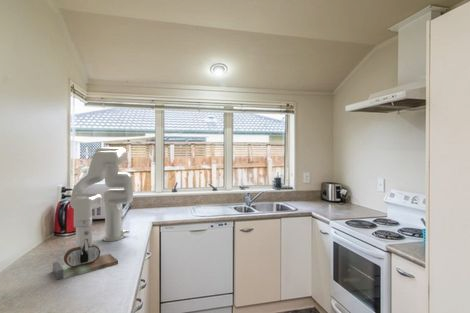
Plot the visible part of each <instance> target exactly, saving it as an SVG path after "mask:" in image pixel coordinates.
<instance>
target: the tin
mask: <svg viewBox="0 0 470 313" xmlns="http://www.w3.org/2000/svg"><path fill="white" fill-rule="evenodd" d="M83 247H84V246H83ZM83 250H84V249H83ZM80 255H81V248H79V247H78V246H76V247H72V248H69V249H68V250H67V251H66V252H65V253H64V256H63V261H64V262H63V263H65V265H66V264H67V265H68V266H70V267H76V266H80V265H84V264H88V263H92V262H94V261H96V260H97V259H98V258H99V256H101V250H100V247H98V246H97V245H96V244H94V243H92V247H90V246H89V245H88V262H84V263H80Z"/></svg>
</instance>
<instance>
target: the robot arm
mask: <svg viewBox="0 0 470 313" xmlns="http://www.w3.org/2000/svg"><path fill="white" fill-rule="evenodd" d="M127 155H128V154H127V150H126V148H124V147H118V146H115V147H114V146H113V147H111V146H107V147H106V146H104V147H103V146H102V147H97V148H96V149H95V152H94V153H93V154H92V157H91V160H90V163H89V168H88V170H87V174H86V175H85V176H84V177H82V178H81V179H80V180H79V181H78V182H77V183H76V184H75V185H74V186H73V188H72V192H71V195H70V199H69V205H70V207H71V208H72V209H73V228H75V245H76V247H79V248H81V255H80V263H84V262H88V245H89V246H90V247H92V244H93V236H92V235H93V234H92V233H93V232H92V227H91V226H92V225H93V210H95V209H99V208H100V207H101V206H102V204H103V202H104V214H105V215H104V221H105V223H104V228H105V229H104V233H105V234H104V236H102V241H105V242H115V241H119V240H122V239H124V238H125V234H128V233H129V234H130V230H129V229H122V208H121V207H120V205H121V204H123V205H124V204H125V205H126V204H130V203H132V202H133V201H134V188H133V187H134V186H133V185H134V184H133V176H132V174H131V173H130V172H120V165H121V164H123V163H124V162H125V161H126V159H127ZM102 181H104V184H105V186H106V187H107V188H109V189H106V190H105V191H104V192H103V196H102V194H100V193H83V191H85V190H86V189H87V188H88V187H90V186H93V185H95V184H97V183H100V182H102ZM119 204H120V205H119ZM83 246H84V247H83ZM83 249H84V250H83Z"/></svg>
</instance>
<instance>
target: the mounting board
mask: <svg viewBox="0 0 470 313" xmlns="http://www.w3.org/2000/svg"><path fill="white" fill-rule="evenodd" d="M114 264H115V265H118V264H119V260H118V259H117V258H115V256H113V255H112V254H111V253H107V254H104V255H100V256H99V258H98V259H97V260H96V261H94V262H92V263H88V264H84V265H80V266H76V267H70V266H68V265H67V264H66V263H65V264H62V265H61V267H62V268H63V279H68V278H70V277H73V276H78V275H81V274H85V273H89V272H92V271H96V270H100V269H103V268H106V267H110V266H114ZM63 279H62V280H63Z"/></svg>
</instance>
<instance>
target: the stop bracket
mask: <svg viewBox="0 0 470 313" xmlns="http://www.w3.org/2000/svg"><path fill="white" fill-rule="evenodd" d="M61 266H62V265H61V264H60V262H59V261H53V262H52V273H54V276H55V277H56V280H58V281H60V280H63V268H62V267H61Z"/></svg>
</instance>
